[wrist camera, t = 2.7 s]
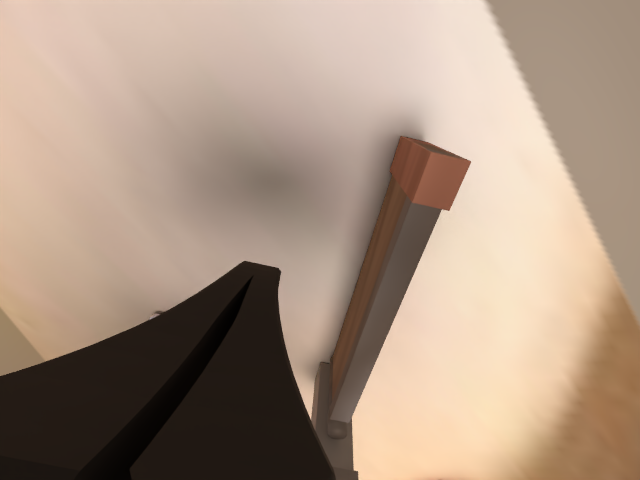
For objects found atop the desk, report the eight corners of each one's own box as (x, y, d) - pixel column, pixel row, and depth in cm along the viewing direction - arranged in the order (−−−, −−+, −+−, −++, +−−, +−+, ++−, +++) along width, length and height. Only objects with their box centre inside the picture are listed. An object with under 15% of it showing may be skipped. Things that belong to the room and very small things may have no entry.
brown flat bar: (327, 364, 22) (323, 437, 17) (400, 135, 14) (430, 152, 9) (344, 367, 22) (345, 441, 17) (427, 141, 14) (471, 161, 9)
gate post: (312, 382, 23) (300, 498, 16) (318, 359, 22) (308, 474, 15) (344, 389, 23) (345, 506, 16) (353, 366, 22) (358, 484, 15)
